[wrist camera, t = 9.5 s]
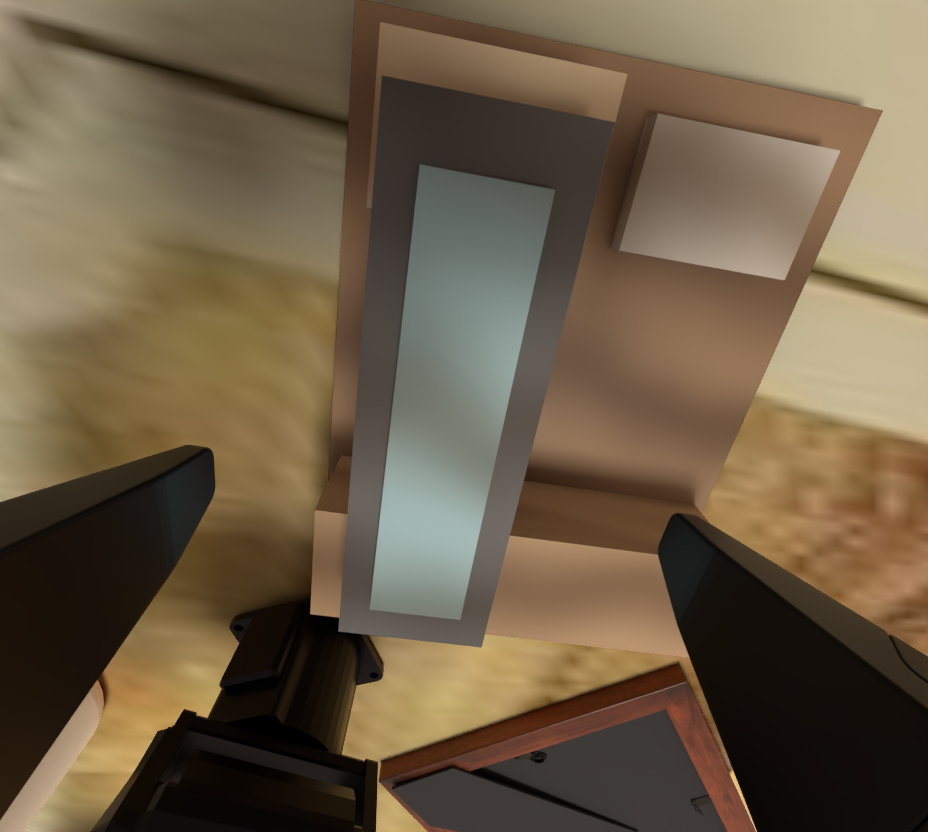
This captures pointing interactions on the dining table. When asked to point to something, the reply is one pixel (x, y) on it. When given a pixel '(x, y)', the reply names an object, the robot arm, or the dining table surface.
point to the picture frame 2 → (579, 768)
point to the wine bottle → (55, 763)
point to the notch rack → (614, 306)
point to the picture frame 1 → (457, 346)
